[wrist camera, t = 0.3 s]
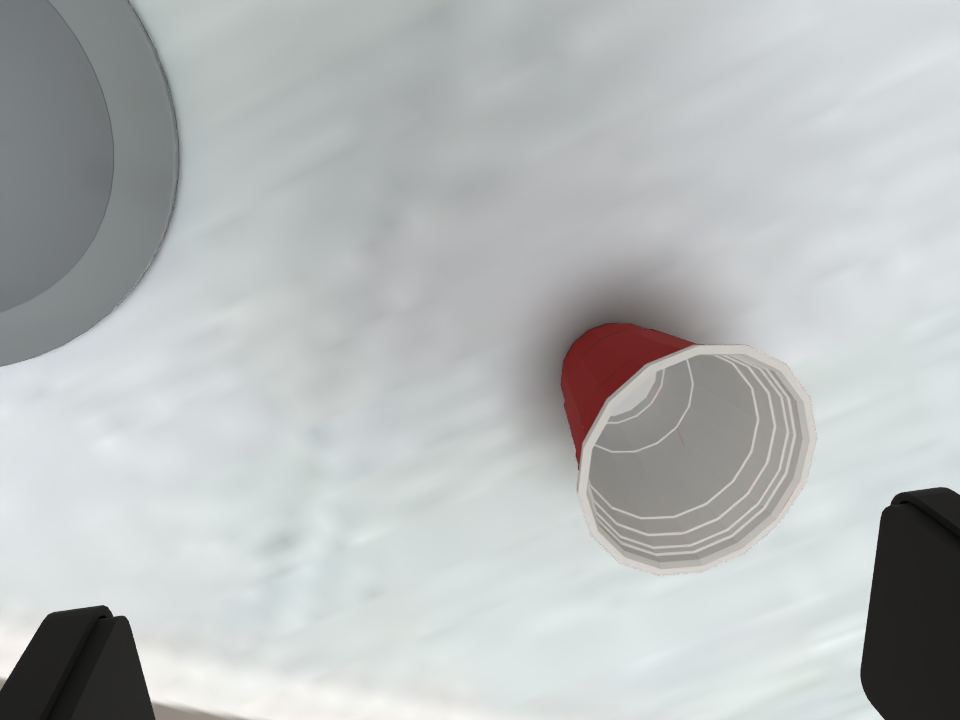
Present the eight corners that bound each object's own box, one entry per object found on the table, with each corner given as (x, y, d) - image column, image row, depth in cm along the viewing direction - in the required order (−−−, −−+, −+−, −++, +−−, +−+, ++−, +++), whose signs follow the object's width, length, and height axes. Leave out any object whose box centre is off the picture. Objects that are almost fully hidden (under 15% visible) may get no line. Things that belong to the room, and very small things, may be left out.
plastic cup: (669, 473, 45) (771, 598, 34) (496, 441, 43) (545, 564, 31) (733, 301, 42) (868, 375, 31) (551, 256, 40) (626, 319, 28)
